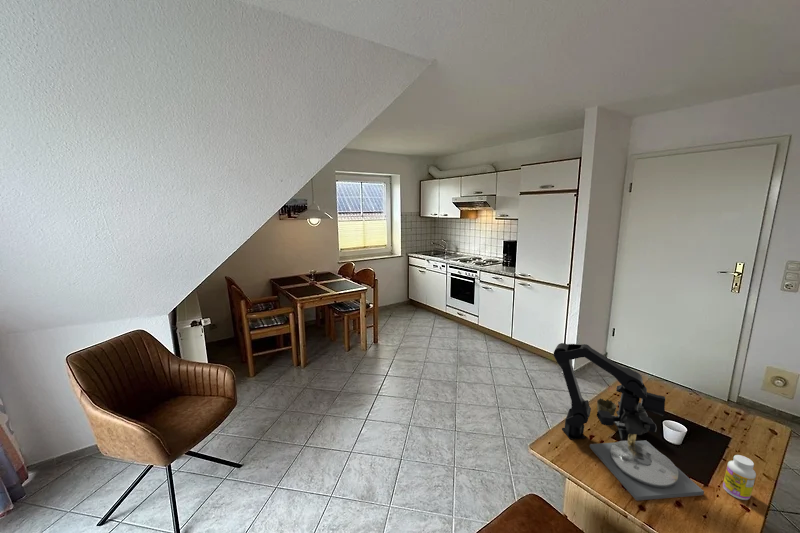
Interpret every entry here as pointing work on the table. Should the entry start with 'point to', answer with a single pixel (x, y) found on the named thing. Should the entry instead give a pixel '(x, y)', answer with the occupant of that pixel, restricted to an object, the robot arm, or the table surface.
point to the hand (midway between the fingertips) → (622, 439)
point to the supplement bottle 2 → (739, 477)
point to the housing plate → (641, 490)
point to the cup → (606, 406)
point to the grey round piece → (643, 463)
